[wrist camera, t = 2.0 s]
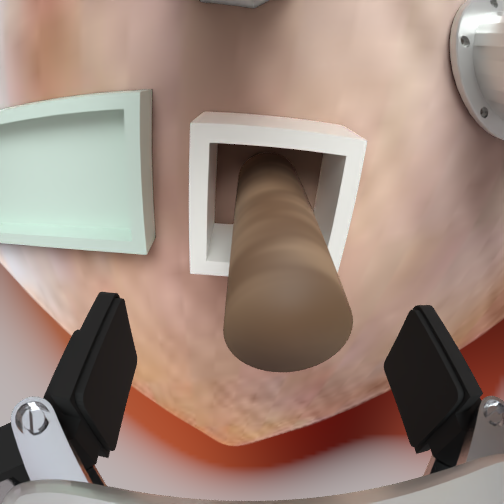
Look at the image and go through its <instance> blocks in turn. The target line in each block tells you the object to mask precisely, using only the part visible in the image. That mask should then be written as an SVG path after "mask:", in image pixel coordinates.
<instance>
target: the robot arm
mask: <svg viewBox="0 0 504 504" xmlns="http://www.w3.org/2000/svg"><path fill="white" fill-rule="evenodd" d="M450 58H451V64H452V71H453V75H454V78H455V82H456V85H457V88H458V91H459V93H460V95H461V98H462V100H463V103H464V104H465V106H466V108H467V109H468V111H469V113H470V115H471V116H472V117H473V118H474V119H475V121H476V122H477V123H478V125H480V126H481V127H482V128H483V129H484V130H485V131H486V132H487V133H489V134H491V135H493V136H495V137H496V138H499V139H501V140H504V0H467V1H466V2H465V3H464V4H462V5H461V7H460V8H459V10H458V12H457V13H456V15H455V18H454V21H453V24H452V27H451V36H450ZM136 365H137V354H136V350H135V346H134V342H133V337H132V333H131V329H130V324H129V320H128V315H127V310H126V305H125V301H124V299H122V298H120V297H119V295H118V294H117V293H108V292H100V293H99V294H98V296H97V298H96V300H95V302H94V304H93V305H92V307H91V309H90V311H89V313H88V315H87V317H86V319H85V321H84V323H83V325H82V327H81V329H80V330H76V331H75V332H74V333H73V335H72V337H71V339H70V341H69V343H68V345H67V347H66V349H65V351H64V353H63V355H62V358H61V359H60V362H59V364H58V366H57V368H56V370H55V372H54V375H53V377H52V379H51V382H50V384H49V386H48V388H47V391H46V393H45V395H44V398H40V397H29V398H25V399H23V400H22V401H20V402H19V403H18V404H17V405H16V406H15V407H14V409H13V411H12V414H11V422H10V423H8V424H6V425H4V426H2V427H0V504H504V402H503V400H501V399H499V398H498V397H495V396H488V397H485V398H484V399H483V400H482V401H481V399H480V396H481V395H482V394H483V393H482V391H481V389H480V387H479V385H478V383H477V381H476V379H475V377H474V376H473V374H472V372H471V370H470V368H469V366H468V365H467V363H466V361H465V359H464V358H463V356H462V354H461V352H460V351H459V349H458V347H457V345H456V344H455V342H454V340H453V339H452V337H451V335H450V334H449V332H448V331H447V329H446V327H445V326H444V324H443V322H442V321H441V319H440V318H439V316H438V315H437V313H436V311H435V310H434V308H433V307H432V306H430V305H417V306H415V307H414V308H413V310H411V311H410V312H409V313H408V316H407V318H406V320H405V322H404V324H403V326H402V328H401V330H400V333H399V335H398V337H397V339H396V341H395V343H394V345H393V347H392V349H391V351H390V352H389V354H388V356H387V358H386V360H385V363H384V370H385V373H386V376H387V379H388V381H389V384H390V387H391V390H392V392H393V395H394V398H395V400H396V403H397V406H398V409H399V412H400V415H401V418H402V420H403V423H404V426H405V429H406V432H407V436H408V439H409V442H410V444H411V446H413V447H415V451H416V453H421V452H424V451H428V450H430V449H431V452H432V456H431V458H430V461H429V463H428V466H427V468H426V471H425V473H424V475H423V476H422V477H419V478H416V479H412V480H408V481H405V482H401V483H397V484H392V485H388V486H383V487H379V488H374V489H369V490H364V491H358V492H352V493H347V494H340V495H333V496H325V497H316V498H307V499H295V500H278V501H218V500H201V499H189V498H179V497H171V496H162V495H155V494H148V493H141V492H135V491H129V490H124V489H119V488H114V487H108V486H107V485H106V484H105V482H104V480H103V479H102V477H101V475H100V474H99V472H98V470H97V468H96V467H95V464H96V463H97V458H98V456H103V457H107V458H108V457H109V452H110V450H111V451H113V450H115V448H116V444H117V440H118V435H119V431H120V427H121V423H122V419H123V415H124V411H125V406H126V403H127V399H128V394H129V391H130V387H131V384H132V380H133V376H134V373H135V369H136Z"/></svg>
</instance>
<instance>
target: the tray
mask: <svg viewBox="0 0 504 504" xmlns="http://www.w3.org/2000/svg"><path fill="white" fill-rule="evenodd" d="M155 238H156V235H155V220H154V202H153V178H152V89H148V90H129V91H115V92H103V93H93V94H84V95H76V96H69V97H62V98H55V99H49V100H43V101H38V102H32V103H27V104H22V105H17V106H13V107H8V108H4V109H0V243H6V244H18V245H29V246H41V247H53V248H66V249H78V250H91V251H103V252H116V253H130V254H143V255H147V254H148V252H149V250H150V248H151V246H152V244H153V242H154V240H155Z"/></svg>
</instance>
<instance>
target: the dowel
mask: <svg viewBox="0 0 504 504" xmlns="http://www.w3.org/2000/svg"><path fill="white" fill-rule="evenodd" d="M352 325H353V316H352V312H351V309H350V306H349V303H348V301H347V298H346V295H345V292H344V290H343V287H342V284H341V281H340V279H339V276H338V273H337V271H336V268H335V265H334V263H333V260H332V258H331V255H330V252H329V250H328V247H327V245H326V242H325V240H324V237H323V235H322V232H321V230H320V227H319V225H318V222H317V220H316V218H315V215H314V213H313V210H312V208H311V206H310V203H309V201H308V198H307V196H306V194H305V191H304V189H303V187H302V184H301V182H300V180H299V178H298V175H297V173H296V171H295V169H294V167H293V165H292V164H291V162H290V161H289V160H287V159H286V158H285V157H283V156H281V155H279V154H276V153H268V152H267V153H260V154H257V155H255V156H253V157H251V158H250V159H248V160H247V161H246V162H245V163H244V165H243V166H242V168H241V170H240V173H239V178H238V186H237V196H236V205H235V214H234V224H233V234H232V244H231V254H230V264H229V274H228V285H227V295H226V306H225V318H224V329H223V331H224V339H225V342H226V344H227V346H228V348H229V349H230V351H231V352H232V353H233V354H234V355H235V356H236V357H237V358H238V359H239V360H241V361H242V362H244V363H245V364H247V365H249V366H252V367H254V368H257V369H261V370H265V371H271V372H293V371H299V370H304V369H307V368H311V367H313V366H316V365H318V364H320V363H322V362H324V361H326V360H328V359H329V358H331V357H332V356H333V355H335V354H336V353H337V352H338V351H339V350H340V349H341V348H342V347H343V346H344V344H345V343H346V341H347V340H348V338H349V336H350V334H351V330H352Z"/></svg>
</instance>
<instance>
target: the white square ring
mask: <svg viewBox="0 0 504 504" xmlns="http://www.w3.org/2000/svg"><path fill="white" fill-rule="evenodd" d="M218 143H225V144H241V145H255V146H267V147H278V148H288V149H297V150H306V151H314V152H322V153H323V158H322V164H321V171H320V177H319V183H318V189H317V194H316V200H315V206H314V212H313V213H314V215H315V218H316V220H317V222H318V225H319V227H320V230H321V232H322V235H323V237H324V240H325V242H326V245H327V247H328V250H329V252H330V255H331V258H332V260H333V263H334V265H335V268H336V271H337V273H338V269H339V265H340V262H341V258H342V254H343V250H344V246H345V242H346V238H347V234H348V230H349V226H350V222H351V217H352V213H353V209H354V204H355V200H356V195H357V191H358V186H359V181H360V176H361V172H362V167H363V161H364V156H365V151H366V146H367V140H365V139H364V138H362V137H361V136H359V135H358V134H356V133H354V132H353V131H351V130H350V129H348V128H346V127H345V126H343V125H339V124H333V123H327V122H320V121H313V120H305V119H297V118H288V117H279V116H269V115H258V114H245V113H229V112H206V111H204V112H203V113H202V114H200V115H199V116H198V117H197V118H196V119H194V120H193V121H192V122H191V123H190V152H189V250H190V274H203V275H216V276H228V274H229V264H230V254H231V244H232V234H233V224H220V223H215V195H216V172H217V151H218Z"/></svg>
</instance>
